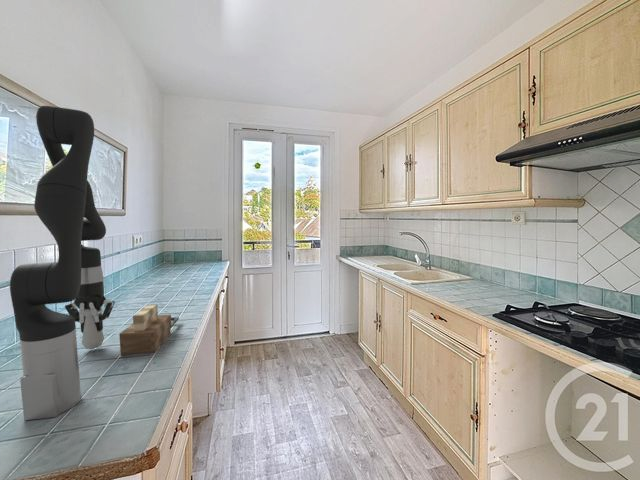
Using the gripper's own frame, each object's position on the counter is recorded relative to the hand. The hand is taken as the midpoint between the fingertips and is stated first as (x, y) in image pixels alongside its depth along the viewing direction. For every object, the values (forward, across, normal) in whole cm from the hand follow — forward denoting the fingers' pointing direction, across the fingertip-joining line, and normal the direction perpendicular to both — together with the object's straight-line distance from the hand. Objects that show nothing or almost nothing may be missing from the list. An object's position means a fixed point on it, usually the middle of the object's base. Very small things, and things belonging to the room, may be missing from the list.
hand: (92, 332), depth 95 cm
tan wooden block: (+4, +15, +7) cm, 18 cm away
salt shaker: (+5, 0, 0) cm, 5 cm away
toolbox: (+6, +16, +2) cm, 17 cm away
